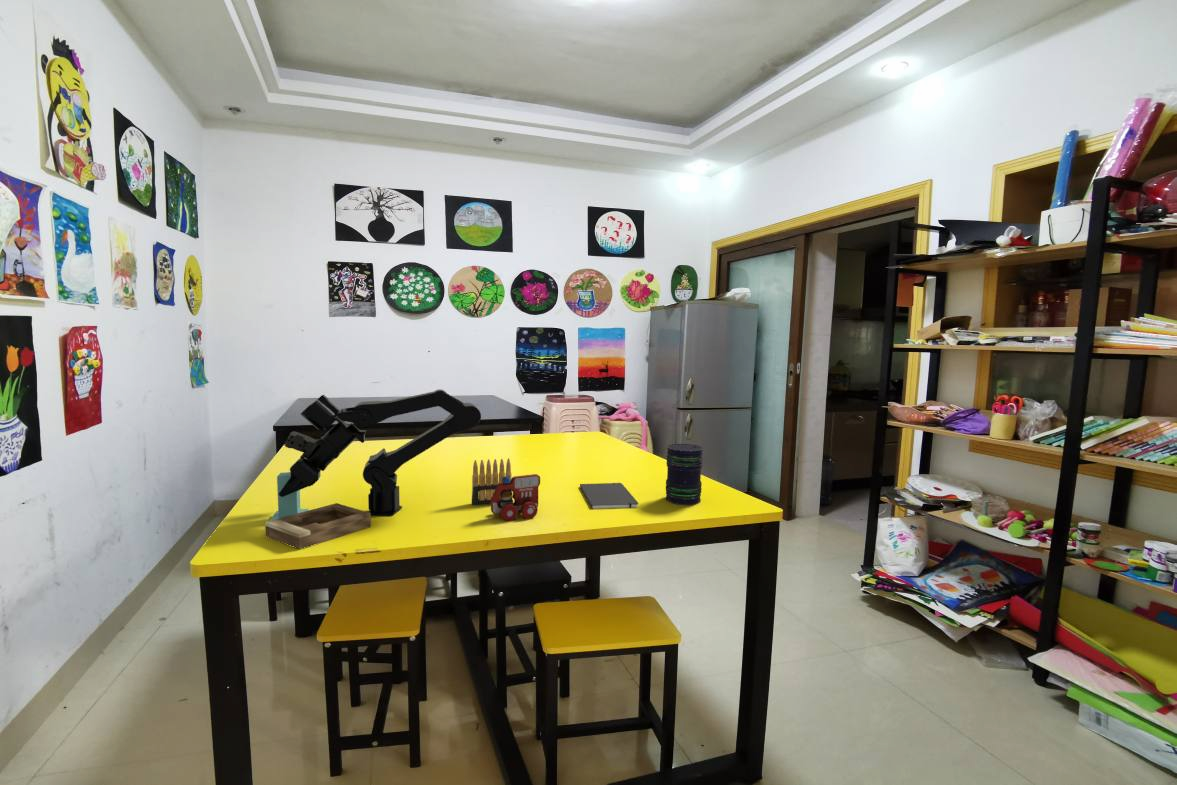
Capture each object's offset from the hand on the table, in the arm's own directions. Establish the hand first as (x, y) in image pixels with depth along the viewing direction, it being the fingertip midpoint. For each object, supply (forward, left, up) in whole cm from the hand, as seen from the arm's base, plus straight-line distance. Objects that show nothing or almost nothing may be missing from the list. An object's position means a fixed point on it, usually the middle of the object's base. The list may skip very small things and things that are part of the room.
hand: (284, 490), depth 132 cm
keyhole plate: (-12, +8, -7) cm, 16 cm away
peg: (-1, 0, -7) cm, 7 cm away
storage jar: (-98, -26, -7) cm, 102 cm away
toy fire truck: (-54, -8, -7) cm, 55 cm away
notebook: (-77, -27, -8) cm, 82 cm away
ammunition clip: (-46, -18, -7) cm, 50 cm away
